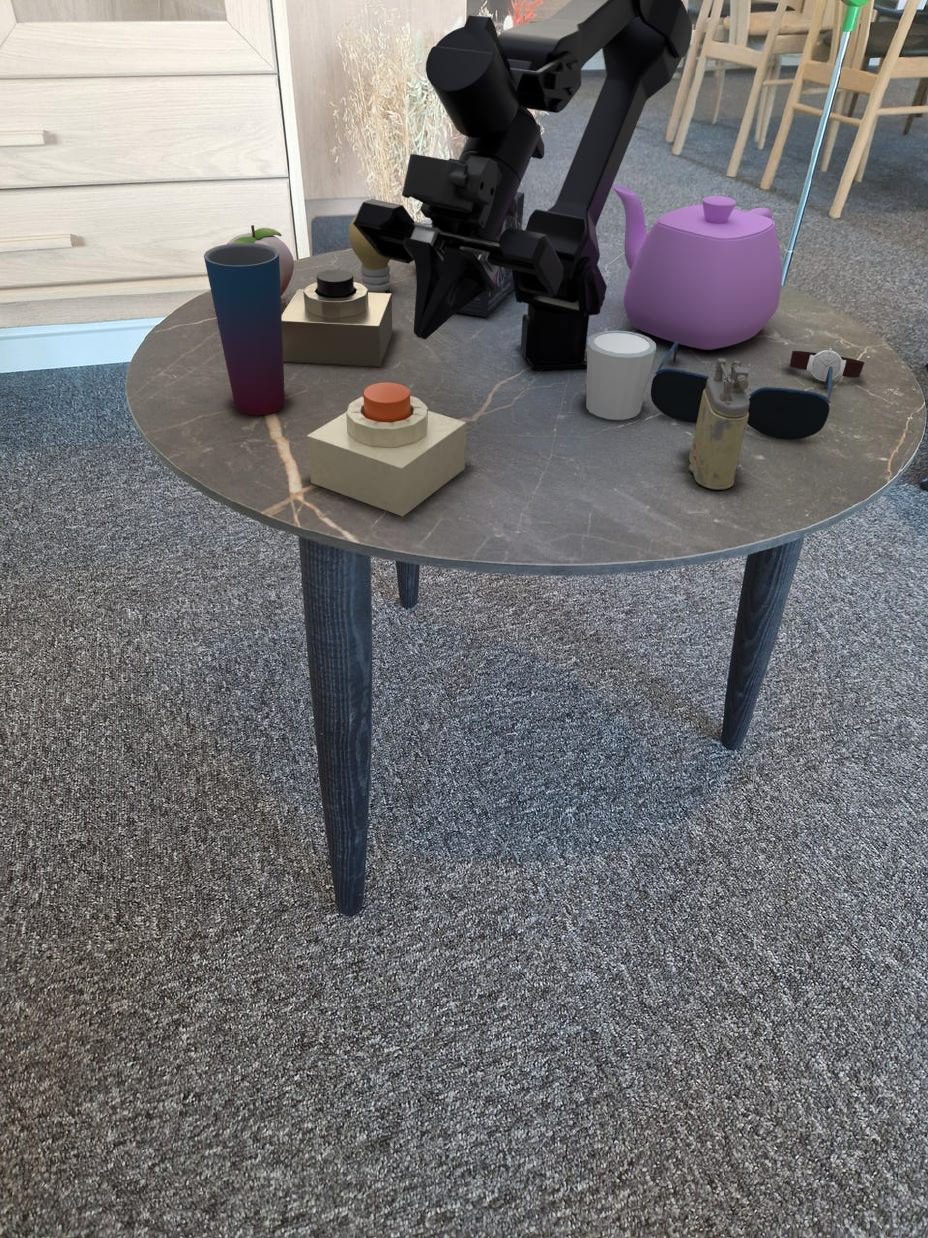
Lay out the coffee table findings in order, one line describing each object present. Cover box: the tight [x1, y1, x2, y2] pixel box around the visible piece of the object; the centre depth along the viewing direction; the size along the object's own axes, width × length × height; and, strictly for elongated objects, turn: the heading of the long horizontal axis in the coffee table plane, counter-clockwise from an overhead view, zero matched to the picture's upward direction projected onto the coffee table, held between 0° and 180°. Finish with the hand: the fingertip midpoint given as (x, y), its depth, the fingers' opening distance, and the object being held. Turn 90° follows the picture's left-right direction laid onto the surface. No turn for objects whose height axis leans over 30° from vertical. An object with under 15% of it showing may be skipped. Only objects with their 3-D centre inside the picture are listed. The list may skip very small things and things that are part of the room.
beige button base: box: [281, 281, 393, 368], centre depth 105 cm, size 11×10×6 cm
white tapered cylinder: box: [585, 330, 657, 421], centre depth 94 cm, size 7×7×7 cm
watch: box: [789, 347, 865, 382], centre depth 103 cm, size 8×5×4 cm, turn 70°
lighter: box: [688, 358, 750, 490], centre depth 83 cm, size 7×4×10 cm, turn 177°
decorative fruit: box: [226, 224, 295, 297], centre depth 113 cm, size 9×8×10 cm
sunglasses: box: [650, 342, 833, 440], centre depth 98 cm, size 17×15×5 cm
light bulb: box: [348, 215, 391, 293], centre depth 119 cm, size 6×6×10 cm
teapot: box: [611, 184, 783, 351], centre depth 112 cm, size 23×21×15 cm
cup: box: [203, 243, 286, 416], centre depth 90 cm, size 7×7×15 cm
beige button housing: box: [306, 395, 467, 518], centre depth 82 cm, size 10×10×6 cm
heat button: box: [316, 269, 355, 298], centre depth 103 cm, size 4×4×2 cm
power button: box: [362, 382, 411, 422], centre depth 80 cm, size 4×4×2 cm
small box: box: [457, 191, 525, 318], centre depth 117 cm, size 13×7×12 cm, turn 160°
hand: (419, 336), depth 81 cm, fingers closed
